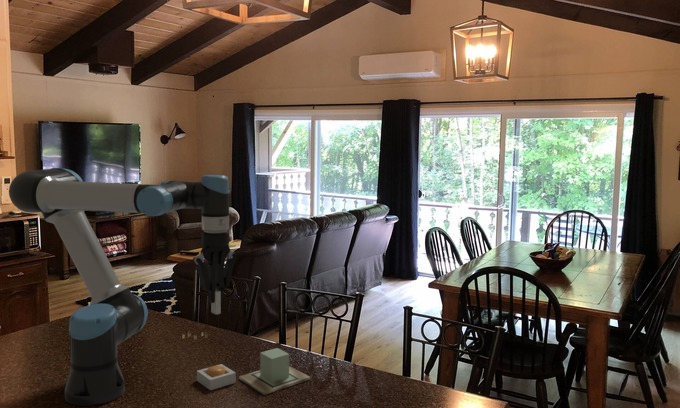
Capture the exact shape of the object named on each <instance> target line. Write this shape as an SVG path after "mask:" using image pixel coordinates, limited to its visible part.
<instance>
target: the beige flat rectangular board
mask: <svg viewBox="0 0 680 408" xmlns="http://www.w3.org/2000/svg"><path fill="white" fill-rule="evenodd" d="M238 380H239V381H241V382H243V383H244V384H246V385H247V386H248V387H251V388H252V389H254V390H255V391H257V392H258V393H260V394H261V395H263V396H265V395H268V394H271V393H274V392H277V391H280V390H283V389H286V388H290V387H291V386H295V385H298V384H302V383H304V382H307V381H310V380H311V376H309V375H307V374H306V373H303V372H302V371H300V370H297V369H296V368H294V367H292V366H290V365H289V377H288V378H285V379H282V380H279V381H275V382H270V381H268V380H267V379H265V378H263V377H262V376H260V369H259V370H256V371H253V372H252V371H251V372H249V373H246V374H242V375H240V376H239V377H238Z"/></svg>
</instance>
